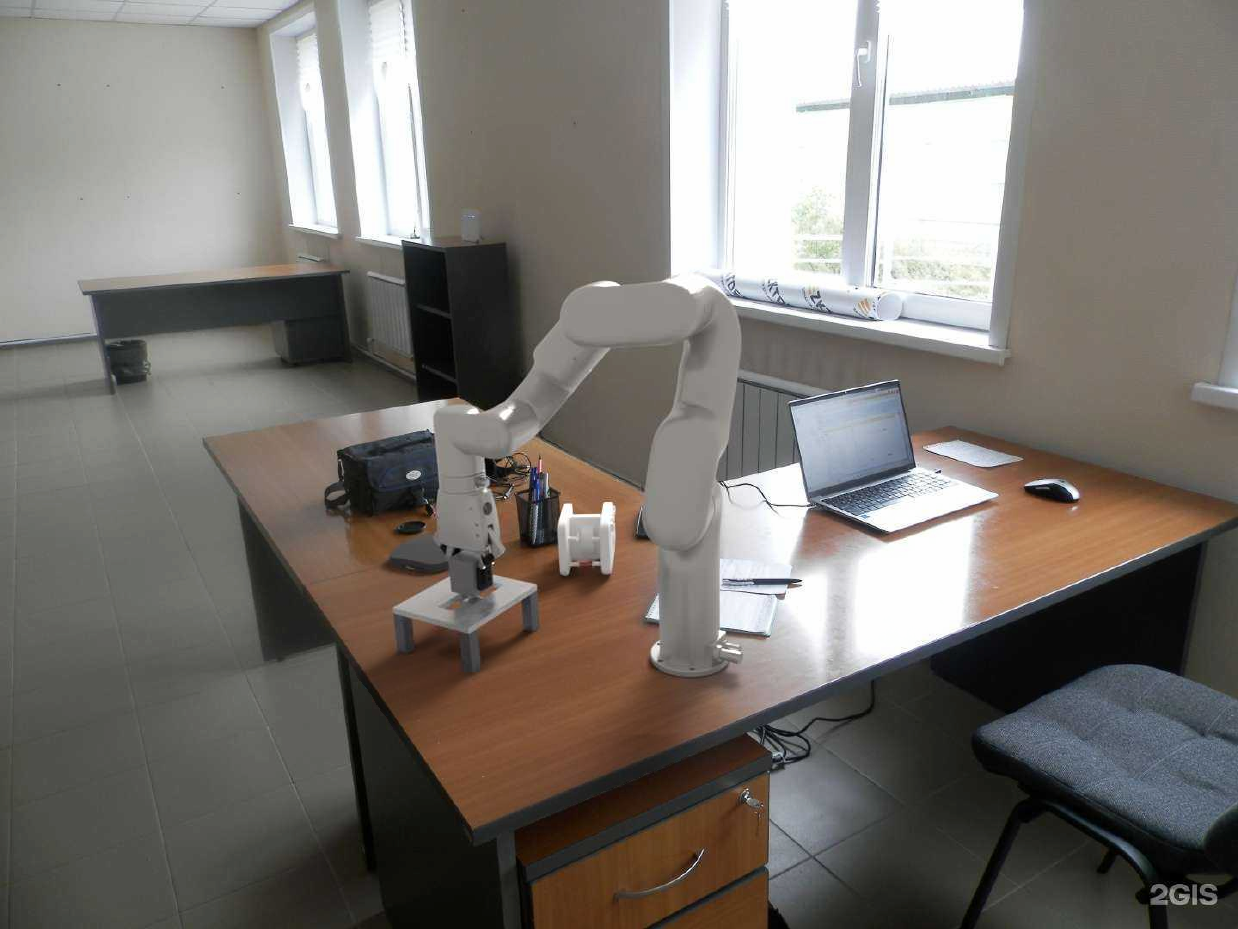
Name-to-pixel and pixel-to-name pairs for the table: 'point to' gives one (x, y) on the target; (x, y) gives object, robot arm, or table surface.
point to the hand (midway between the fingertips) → (471, 583)
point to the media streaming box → (419, 555)
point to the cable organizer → (586, 538)
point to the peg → (465, 574)
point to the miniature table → (464, 614)
